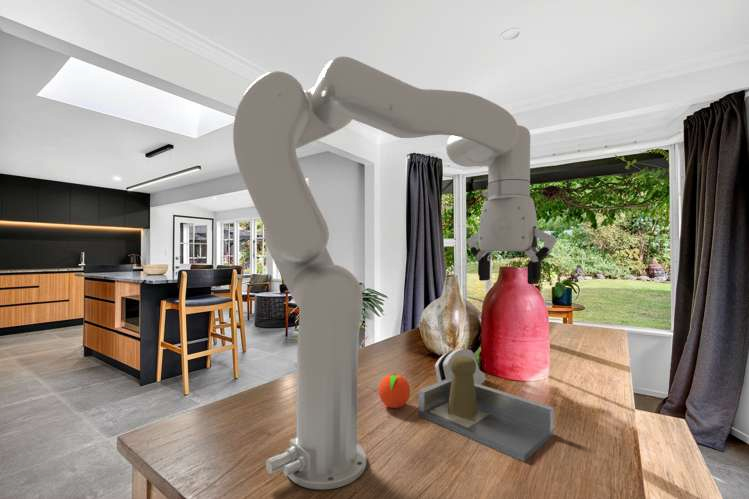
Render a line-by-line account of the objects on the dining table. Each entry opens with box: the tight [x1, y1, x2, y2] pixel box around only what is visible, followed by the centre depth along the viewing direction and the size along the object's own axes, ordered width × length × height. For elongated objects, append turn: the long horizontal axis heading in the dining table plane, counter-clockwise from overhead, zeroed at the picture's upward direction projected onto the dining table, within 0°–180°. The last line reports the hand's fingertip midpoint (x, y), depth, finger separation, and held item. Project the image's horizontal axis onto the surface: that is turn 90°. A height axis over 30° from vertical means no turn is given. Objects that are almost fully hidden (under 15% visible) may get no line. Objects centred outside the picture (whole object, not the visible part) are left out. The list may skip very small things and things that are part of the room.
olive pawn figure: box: [448, 356, 478, 417], centre depth 73 cm, size 6×6×11 cm
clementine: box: [378, 373, 411, 409], centre depth 77 cm, size 8×7×7 cm
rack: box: [417, 377, 555, 463], centre depth 70 cm, size 13×22×5 cm, turn 44°
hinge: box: [434, 348, 487, 385], centre depth 90 cm, size 17×5×10 cm, turn 141°
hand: (507, 281), depth 68 cm, fingers open, 9 cm apart
